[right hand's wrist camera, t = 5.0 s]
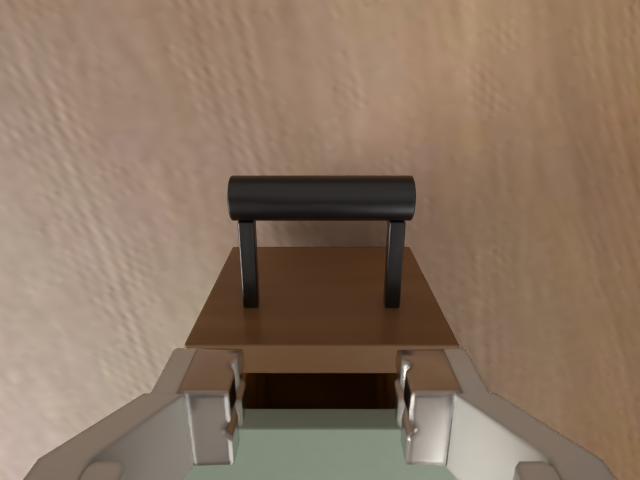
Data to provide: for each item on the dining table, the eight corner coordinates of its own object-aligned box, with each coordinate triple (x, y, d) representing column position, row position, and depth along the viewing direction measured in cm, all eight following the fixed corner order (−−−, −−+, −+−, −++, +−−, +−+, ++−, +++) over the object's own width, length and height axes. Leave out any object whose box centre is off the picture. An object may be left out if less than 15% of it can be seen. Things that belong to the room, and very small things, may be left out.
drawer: (225, 148, 23) (165, 196, 14) (416, 148, 23) (477, 196, 14) (252, 517, 31) (225, 691, 22) (389, 518, 31) (416, 691, 22)
